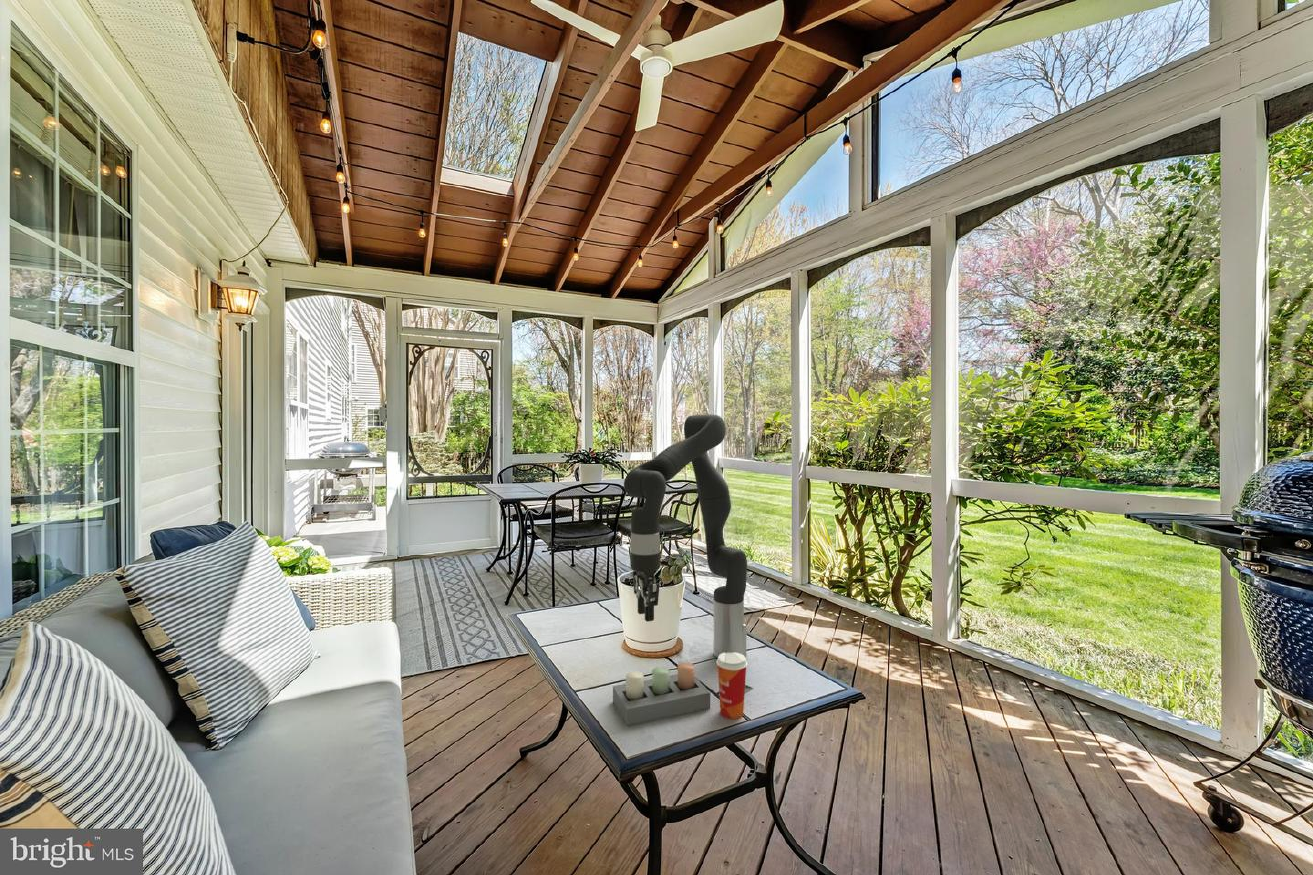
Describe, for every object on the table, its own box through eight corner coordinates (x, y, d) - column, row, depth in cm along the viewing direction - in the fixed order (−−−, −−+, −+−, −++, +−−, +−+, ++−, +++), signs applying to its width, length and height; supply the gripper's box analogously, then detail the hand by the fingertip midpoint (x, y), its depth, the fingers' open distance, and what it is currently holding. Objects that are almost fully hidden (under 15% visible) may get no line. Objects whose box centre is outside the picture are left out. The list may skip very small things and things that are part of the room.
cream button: (640, 689, 142) (640, 670, 142) (646, 697, 138) (645, 677, 138) (623, 692, 141) (623, 673, 141) (629, 700, 137) (629, 680, 137)
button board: (690, 686, 152) (690, 671, 152) (710, 708, 140) (710, 692, 140) (613, 701, 144) (612, 686, 144) (626, 725, 133) (626, 709, 133)
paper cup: (713, 705, 142) (713, 651, 141) (743, 704, 142) (743, 650, 142) (719, 722, 134) (719, 665, 133) (751, 720, 135) (751, 664, 134)
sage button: (665, 684, 145) (665, 665, 145) (672, 692, 141) (672, 673, 141) (649, 687, 143) (649, 668, 143) (655, 695, 139) (655, 676, 139)
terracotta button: (690, 679, 147) (690, 661, 147) (697, 687, 143) (697, 668, 143) (675, 682, 146) (674, 664, 146) (681, 690, 142) (681, 671, 141)
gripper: (669, 555, 134) (670, 625, 134) (649, 542, 147) (650, 605, 148) (640, 558, 131) (640, 629, 132) (622, 544, 144) (622, 609, 145)
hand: (645, 616), depth 140 cm, fingers open, 5 cm apart
